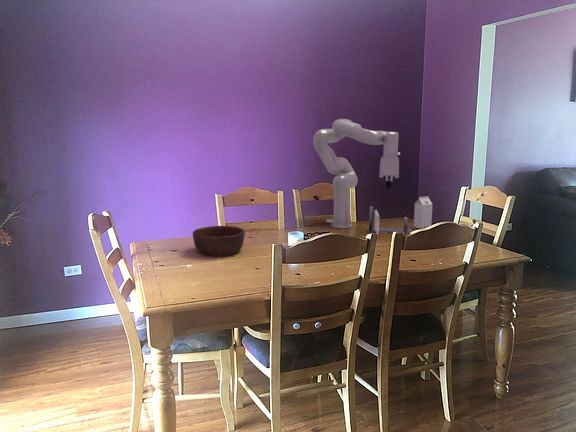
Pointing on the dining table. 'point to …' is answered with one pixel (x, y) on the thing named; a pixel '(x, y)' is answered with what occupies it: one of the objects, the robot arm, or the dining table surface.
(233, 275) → the dining table surface
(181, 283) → the dining table surface
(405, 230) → the gate base
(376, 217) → the gate
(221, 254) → the wooden bowl
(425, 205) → the milk carton
